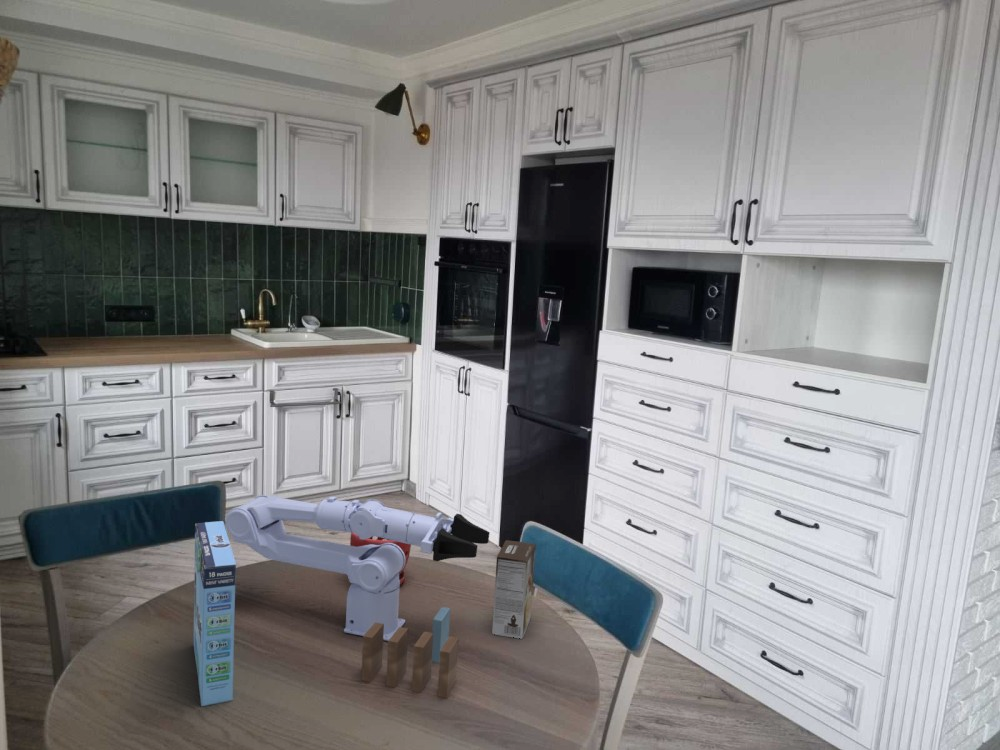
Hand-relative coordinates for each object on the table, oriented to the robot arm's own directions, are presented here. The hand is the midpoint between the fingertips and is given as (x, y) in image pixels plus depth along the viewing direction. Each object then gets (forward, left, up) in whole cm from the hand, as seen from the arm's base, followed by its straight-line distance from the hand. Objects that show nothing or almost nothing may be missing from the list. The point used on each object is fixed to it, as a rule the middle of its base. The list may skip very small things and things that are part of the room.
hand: (482, 544), depth 130 cm
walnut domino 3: (-6, -14, -20) cm, 25 cm away
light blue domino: (-6, -4, -20) cm, 22 cm away
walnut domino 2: (-10, -14, -20) cm, 27 cm away
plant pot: (-28, +20, -21) cm, 40 cm away
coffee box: (+4, +11, -21) cm, 23 cm away
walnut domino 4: (-1, -14, -20) cm, 25 cm away
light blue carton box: (-40, -22, -21) cm, 50 cm away
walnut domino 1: (-15, -14, -20) cm, 29 cm away
